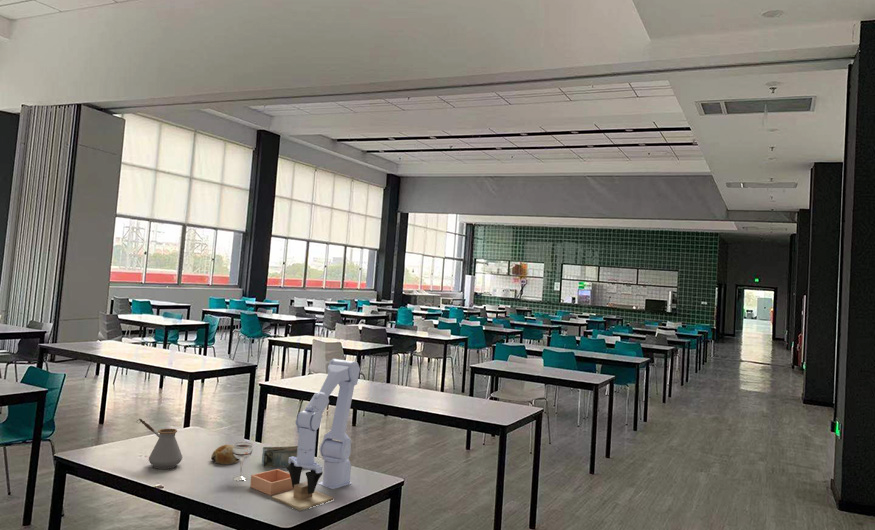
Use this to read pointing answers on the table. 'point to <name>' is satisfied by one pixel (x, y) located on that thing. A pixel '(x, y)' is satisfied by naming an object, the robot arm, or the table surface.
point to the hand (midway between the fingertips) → (303, 490)
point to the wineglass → (242, 455)
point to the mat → (288, 506)
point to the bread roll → (224, 455)
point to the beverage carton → (278, 456)
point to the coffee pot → (164, 449)
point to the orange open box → (272, 482)
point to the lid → (302, 497)
